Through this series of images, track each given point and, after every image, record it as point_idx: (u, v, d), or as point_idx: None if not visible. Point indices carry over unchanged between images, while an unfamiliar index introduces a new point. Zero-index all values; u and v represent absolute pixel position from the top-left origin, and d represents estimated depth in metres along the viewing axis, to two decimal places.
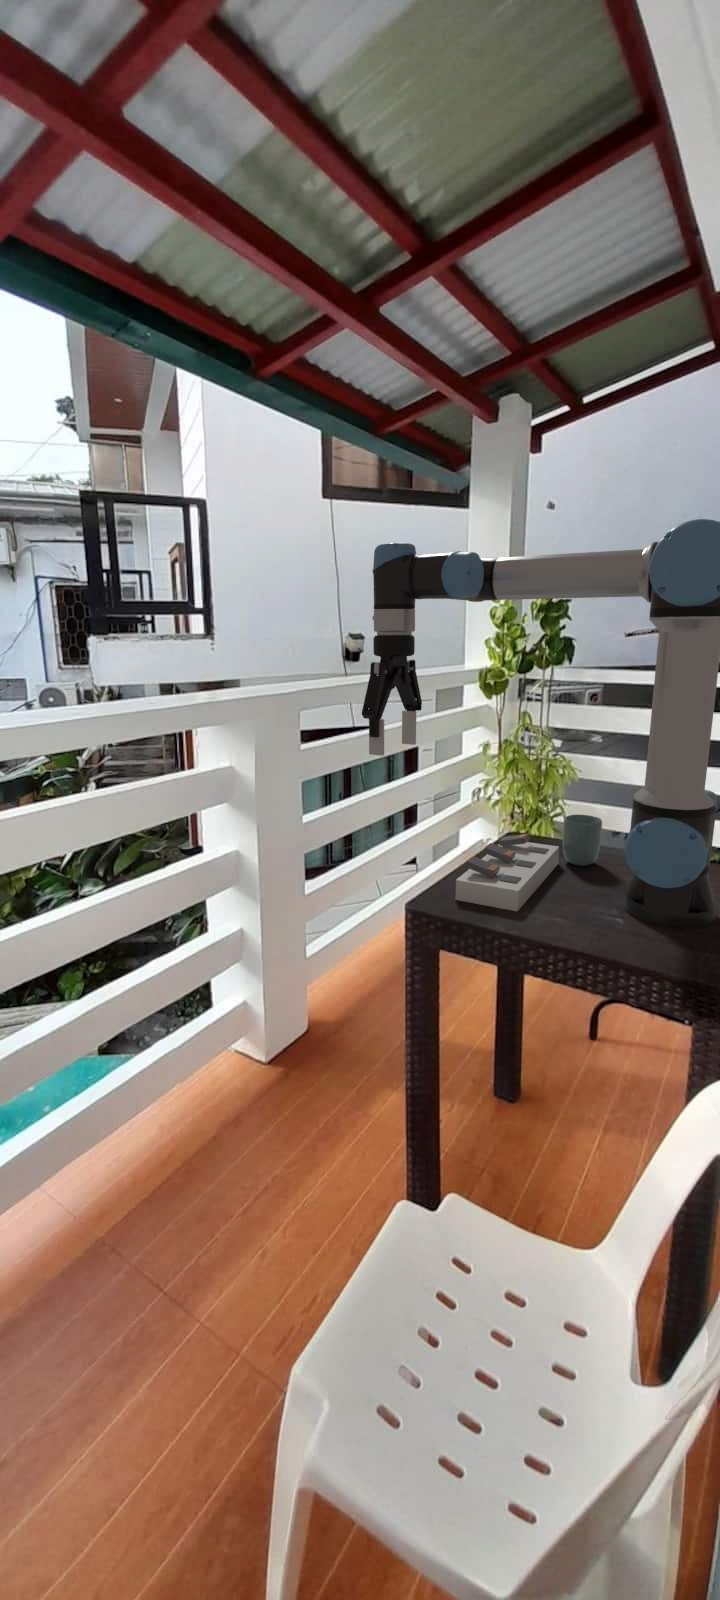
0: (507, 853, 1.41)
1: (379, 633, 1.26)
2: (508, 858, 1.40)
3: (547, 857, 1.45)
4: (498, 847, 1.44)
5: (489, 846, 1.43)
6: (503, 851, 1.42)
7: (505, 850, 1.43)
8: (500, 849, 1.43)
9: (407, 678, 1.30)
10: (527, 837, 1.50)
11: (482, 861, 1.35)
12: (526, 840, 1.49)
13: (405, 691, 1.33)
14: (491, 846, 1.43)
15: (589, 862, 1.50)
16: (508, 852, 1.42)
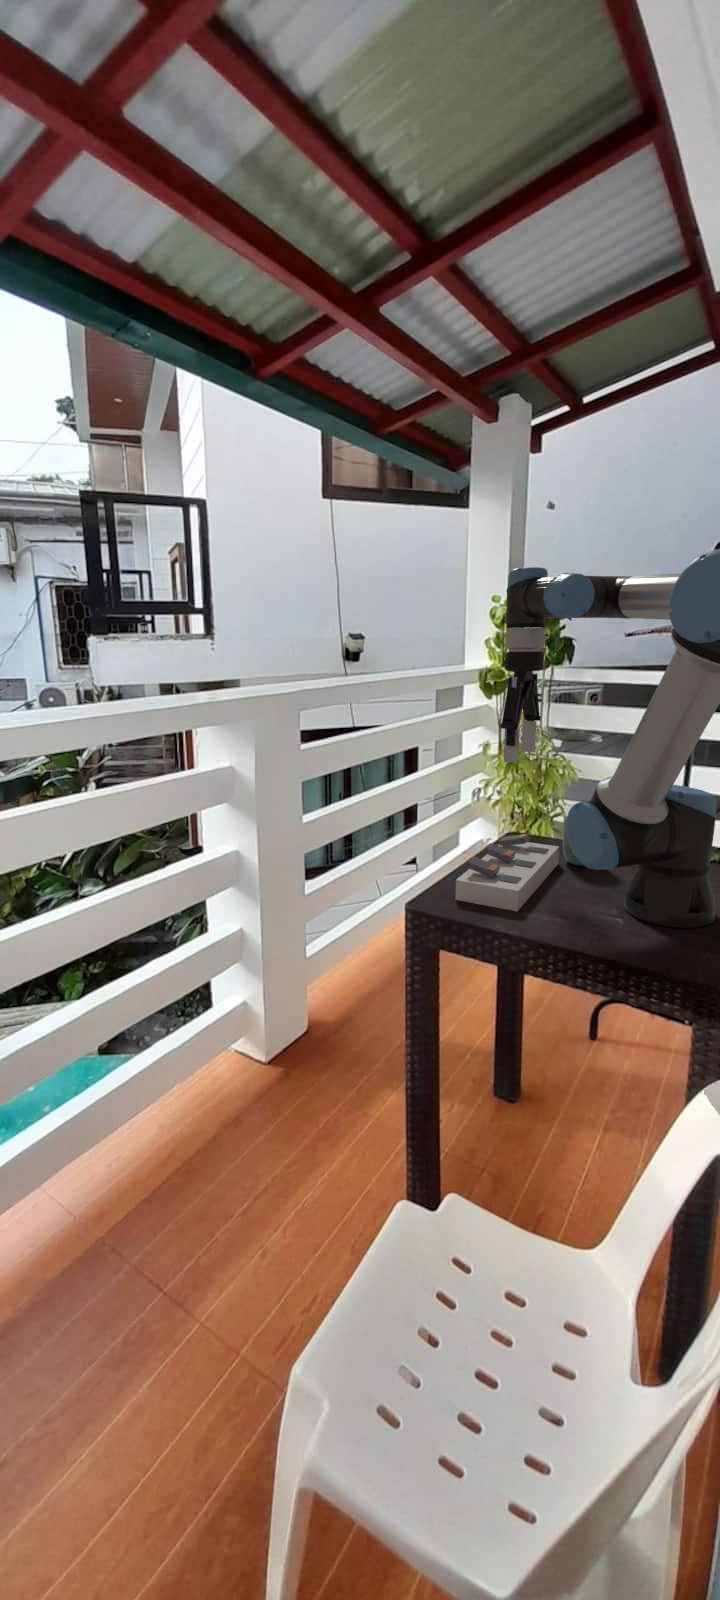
0: (507, 853, 1.41)
1: (512, 650, 1.36)
2: (508, 858, 1.40)
3: (547, 857, 1.45)
4: (498, 847, 1.44)
5: (489, 846, 1.43)
6: (503, 851, 1.42)
7: (505, 850, 1.43)
8: (500, 849, 1.43)
9: (533, 691, 1.41)
10: (527, 837, 1.50)
11: (482, 861, 1.35)
12: (526, 840, 1.49)
13: (529, 703, 1.44)
14: (491, 846, 1.43)
15: None
16: (508, 852, 1.42)
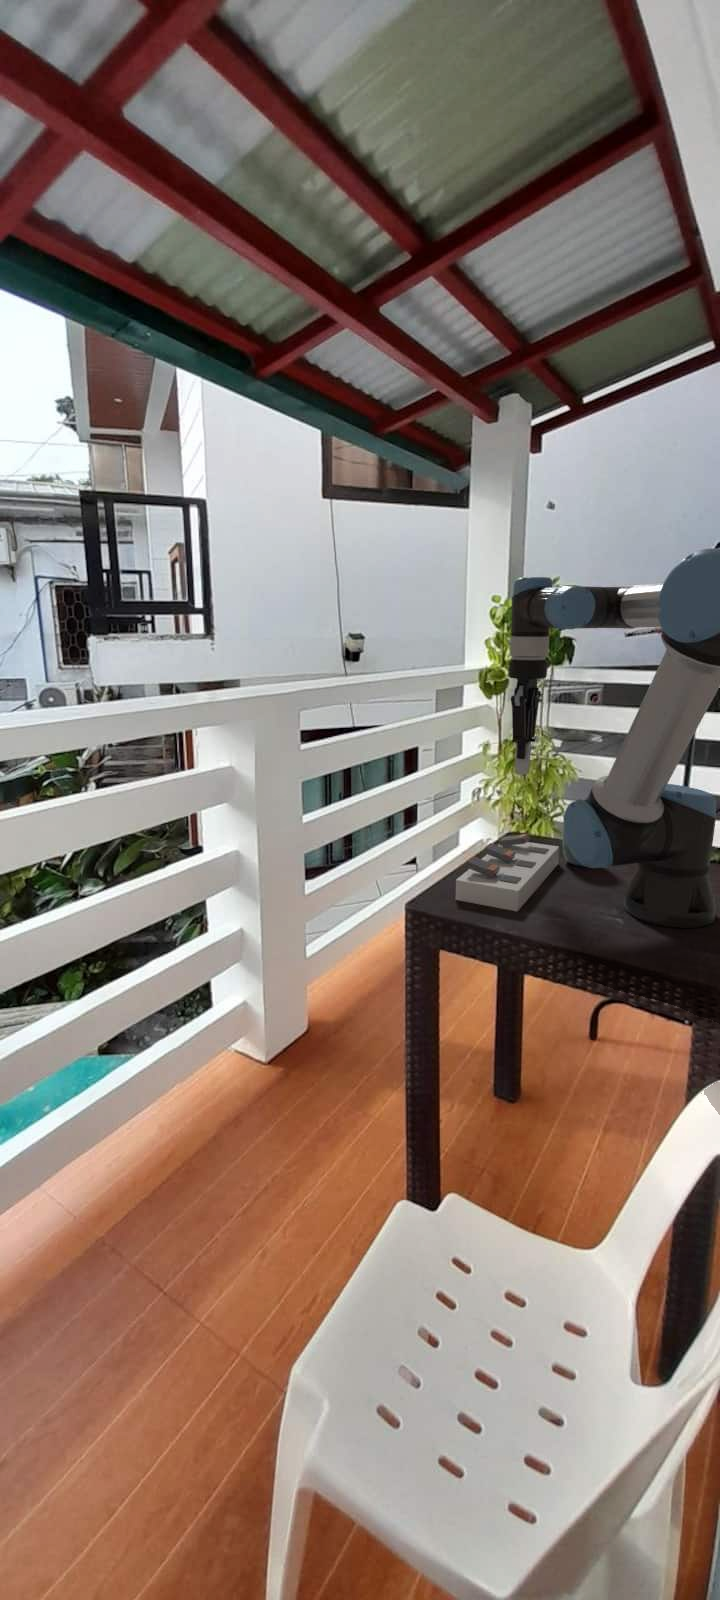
0: (507, 853, 1.41)
1: (516, 658, 1.38)
2: (508, 858, 1.40)
3: (547, 857, 1.45)
4: (498, 847, 1.44)
5: (489, 846, 1.43)
6: (503, 851, 1.42)
7: (505, 850, 1.43)
8: (500, 849, 1.43)
9: (535, 700, 1.42)
10: (527, 837, 1.50)
11: (482, 861, 1.35)
12: (526, 840, 1.49)
13: None
14: (491, 846, 1.43)
15: None
16: (508, 852, 1.42)
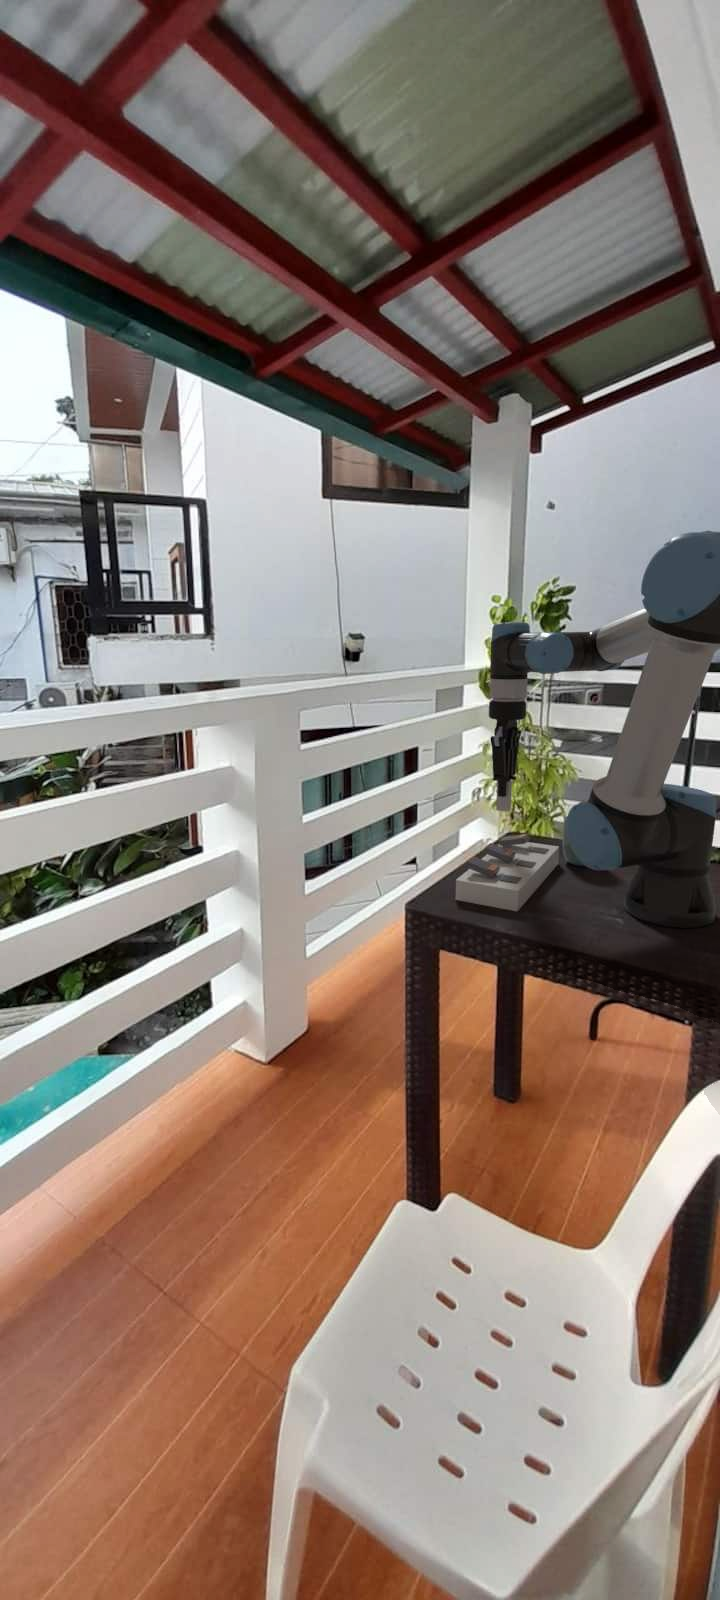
0: (507, 853, 1.41)
1: (496, 699, 1.43)
2: (508, 858, 1.40)
3: (547, 857, 1.45)
4: (498, 847, 1.44)
5: (489, 846, 1.43)
6: (503, 851, 1.42)
7: (505, 850, 1.43)
8: (500, 849, 1.43)
9: (515, 739, 1.46)
10: (527, 837, 1.50)
11: (482, 861, 1.35)
12: (526, 840, 1.49)
13: None
14: (491, 846, 1.43)
15: None
16: (508, 852, 1.42)
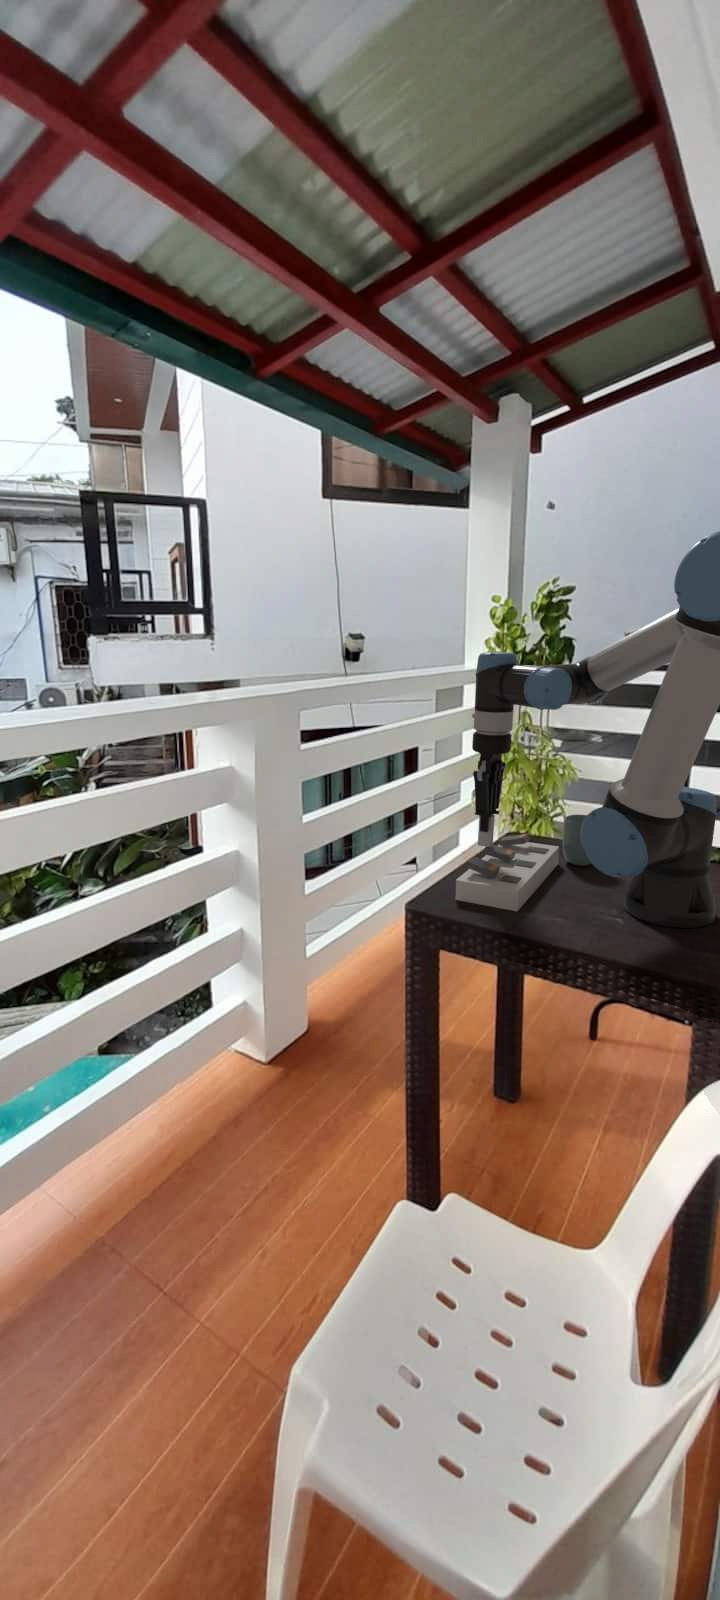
0: (507, 852, 1.41)
1: (480, 732, 1.36)
2: (508, 857, 1.40)
3: (547, 857, 1.45)
4: (498, 847, 1.44)
5: (489, 847, 1.43)
6: (503, 851, 1.42)
7: (505, 850, 1.43)
8: (500, 849, 1.43)
9: (499, 773, 1.40)
10: (527, 837, 1.50)
11: (482, 861, 1.35)
12: (526, 840, 1.49)
13: None
14: (491, 847, 1.43)
15: (589, 862, 1.50)
16: (508, 851, 1.42)
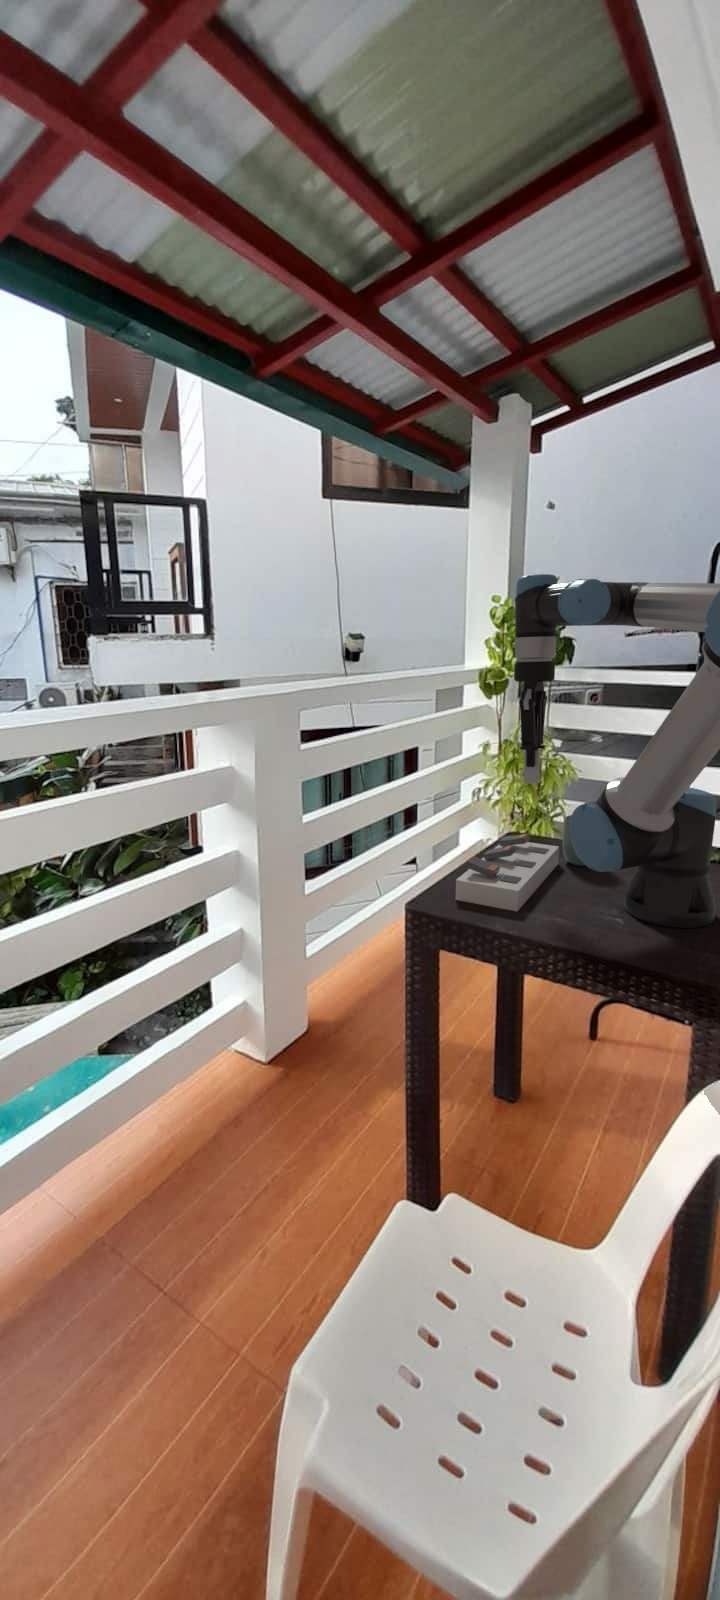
0: (505, 848, 1.41)
1: (522, 660, 1.31)
2: (507, 852, 1.40)
3: (547, 857, 1.45)
4: (496, 849, 1.44)
5: (487, 852, 1.43)
6: (501, 849, 1.42)
7: (503, 848, 1.43)
8: (498, 849, 1.43)
9: (543, 704, 1.35)
10: (527, 837, 1.50)
11: (482, 861, 1.35)
12: (526, 840, 1.49)
13: None
14: (490, 851, 1.44)
15: None
16: (506, 847, 1.42)
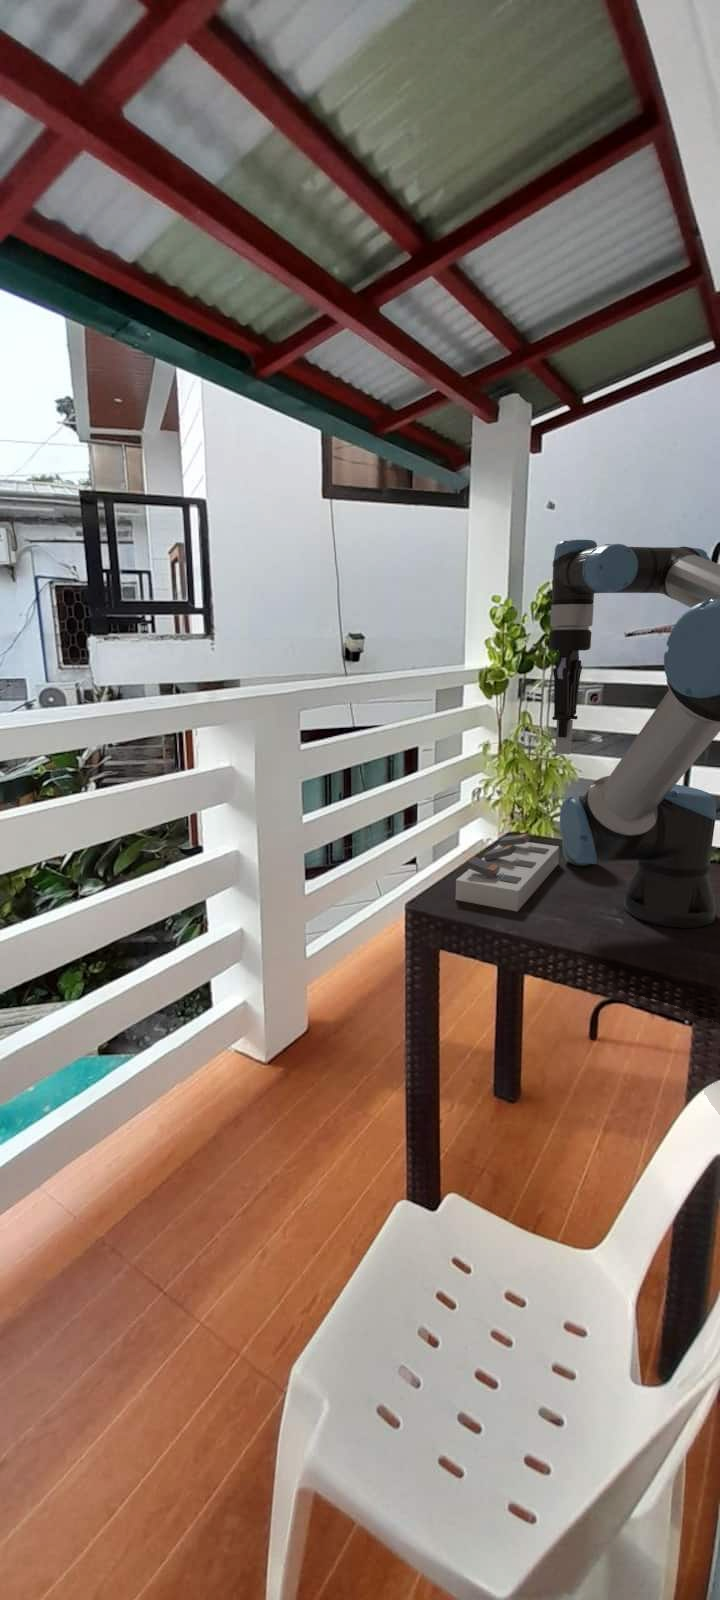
0: (505, 848, 1.41)
1: (558, 628, 1.29)
2: (507, 851, 1.40)
3: (547, 857, 1.45)
4: (496, 849, 1.44)
5: (487, 852, 1.43)
6: (501, 849, 1.42)
7: (503, 848, 1.43)
8: (498, 849, 1.43)
9: (577, 674, 1.32)
10: (527, 837, 1.50)
11: (482, 861, 1.35)
12: (526, 840, 1.49)
13: None
14: (490, 851, 1.44)
15: None
16: (506, 847, 1.42)
